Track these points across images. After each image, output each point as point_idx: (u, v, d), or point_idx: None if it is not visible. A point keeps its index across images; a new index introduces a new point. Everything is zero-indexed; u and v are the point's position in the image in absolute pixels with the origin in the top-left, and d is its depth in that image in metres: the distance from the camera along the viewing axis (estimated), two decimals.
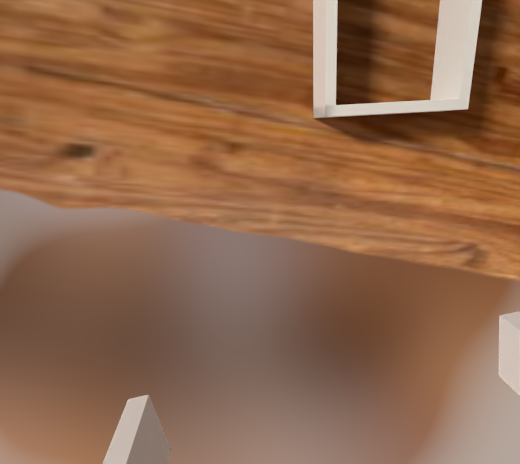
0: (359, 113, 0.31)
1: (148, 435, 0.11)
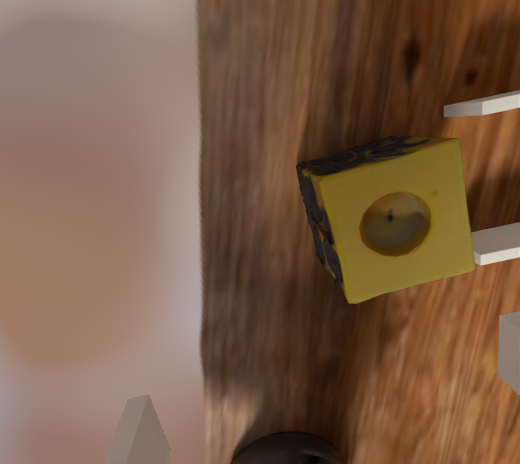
0: None
1: (148, 435, 0.11)
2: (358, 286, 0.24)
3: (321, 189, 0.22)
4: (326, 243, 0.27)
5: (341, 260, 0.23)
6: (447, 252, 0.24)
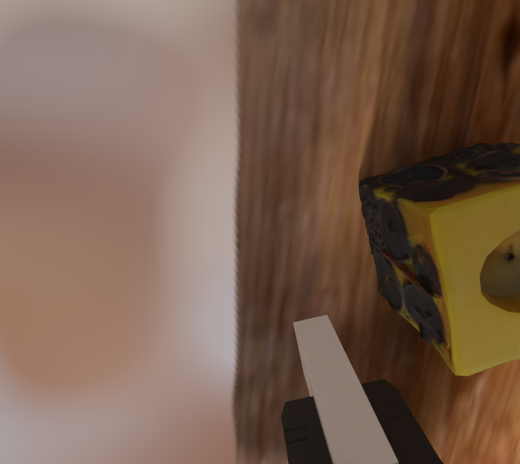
0: None
1: None
2: (471, 353, 0.17)
3: (431, 224, 0.15)
4: (411, 287, 0.21)
5: (451, 320, 0.17)
6: None
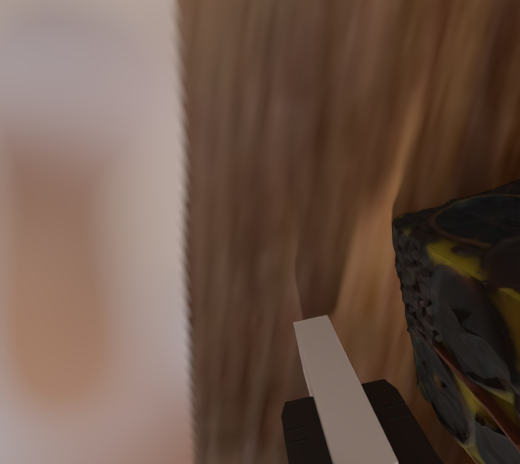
0: None
1: None
2: None
3: None
4: (499, 435, 0.11)
5: None
6: None
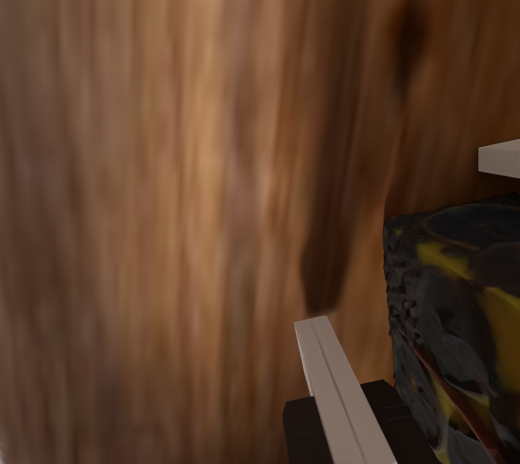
0: None
1: None
2: None
3: None
4: (472, 440, 0.11)
5: None
6: None
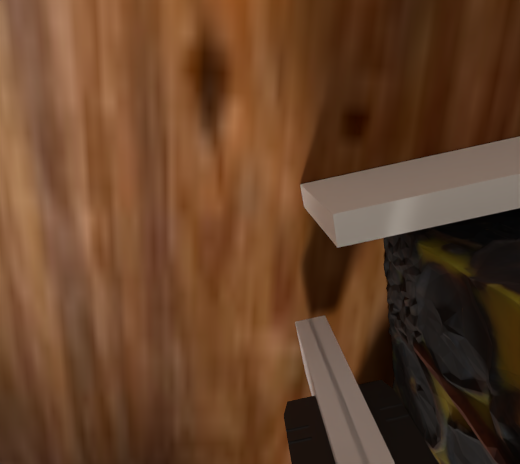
0: None
1: None
2: None
3: None
4: (471, 439, 0.11)
5: None
6: None
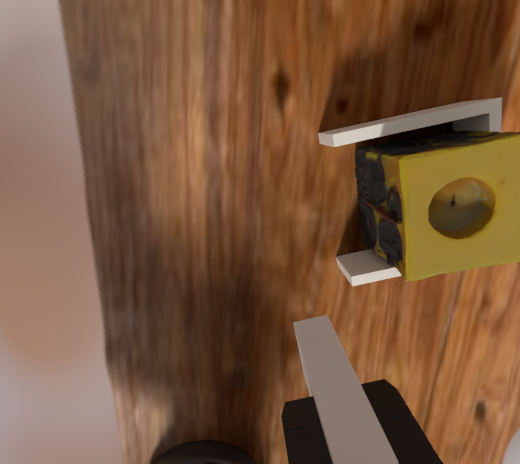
0: None
1: None
2: (418, 264, 0.25)
3: (400, 167, 0.23)
4: (384, 224, 0.29)
5: (407, 237, 0.25)
6: (504, 240, 0.25)
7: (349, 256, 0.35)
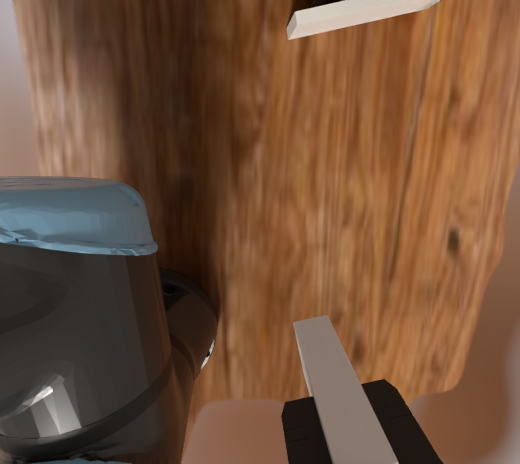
0: None
1: None
2: None
3: None
4: None
5: None
6: None
7: None
